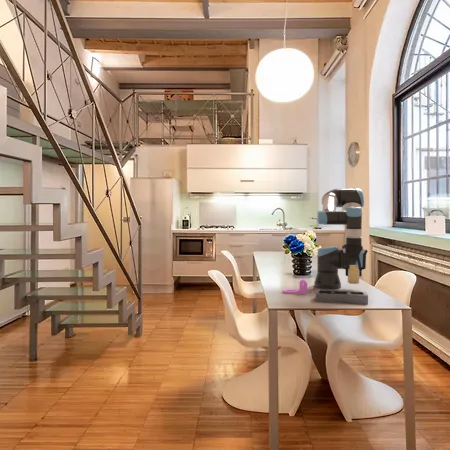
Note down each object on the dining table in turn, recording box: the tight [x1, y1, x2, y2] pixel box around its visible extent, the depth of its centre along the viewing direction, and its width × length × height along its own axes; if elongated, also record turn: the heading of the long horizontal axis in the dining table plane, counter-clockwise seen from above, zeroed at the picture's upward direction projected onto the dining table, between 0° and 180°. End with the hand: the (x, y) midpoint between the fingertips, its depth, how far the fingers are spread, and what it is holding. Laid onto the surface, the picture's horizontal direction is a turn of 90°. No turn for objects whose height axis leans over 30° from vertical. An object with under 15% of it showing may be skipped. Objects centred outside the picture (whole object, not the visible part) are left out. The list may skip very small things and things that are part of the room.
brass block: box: [349, 265, 359, 285], centre depth 203 cm, size 4×4×9 cm
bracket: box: [281, 279, 308, 295], centre depth 212 cm, size 13×6×7 cm, turn 83°
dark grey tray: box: [315, 289, 369, 305], centre depth 193 cm, size 9×24×4 cm, turn 78°
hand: (353, 282), depth 203 cm, fingers closed on brass block, 4 cm apart
